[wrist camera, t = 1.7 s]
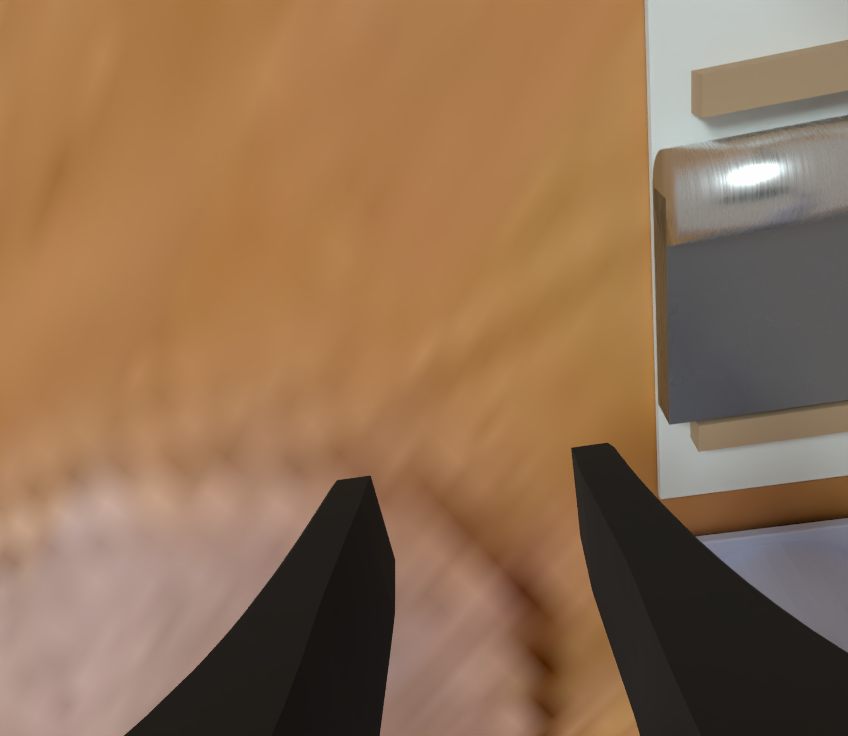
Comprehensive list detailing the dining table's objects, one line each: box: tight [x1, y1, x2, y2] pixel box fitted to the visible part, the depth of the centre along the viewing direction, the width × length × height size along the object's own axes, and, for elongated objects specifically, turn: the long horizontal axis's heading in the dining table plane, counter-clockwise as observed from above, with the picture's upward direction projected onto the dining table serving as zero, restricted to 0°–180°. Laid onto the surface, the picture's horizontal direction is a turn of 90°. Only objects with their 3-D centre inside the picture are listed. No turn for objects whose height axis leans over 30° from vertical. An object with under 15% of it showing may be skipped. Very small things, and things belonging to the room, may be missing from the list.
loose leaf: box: [653, 115, 848, 425], centre depth 18 cm, size 8×7×2 cm
